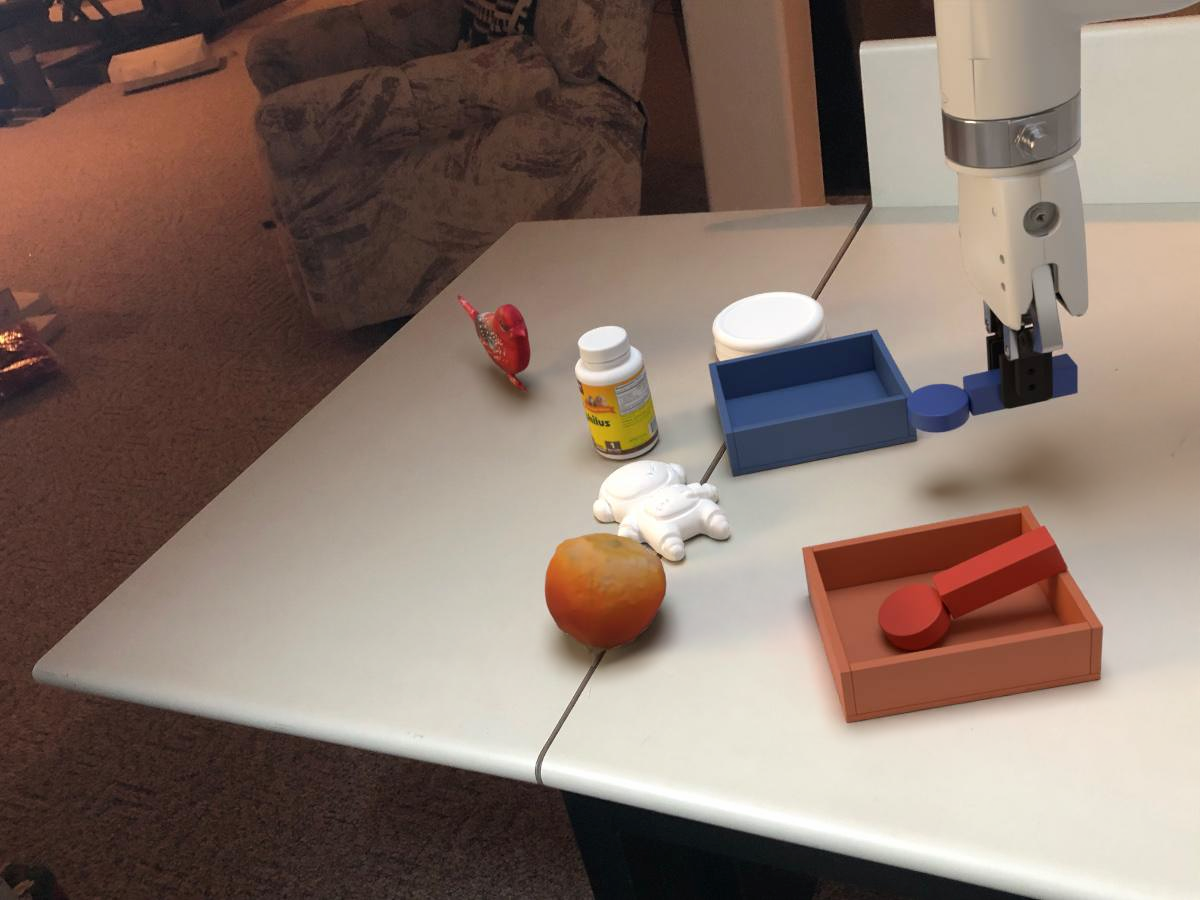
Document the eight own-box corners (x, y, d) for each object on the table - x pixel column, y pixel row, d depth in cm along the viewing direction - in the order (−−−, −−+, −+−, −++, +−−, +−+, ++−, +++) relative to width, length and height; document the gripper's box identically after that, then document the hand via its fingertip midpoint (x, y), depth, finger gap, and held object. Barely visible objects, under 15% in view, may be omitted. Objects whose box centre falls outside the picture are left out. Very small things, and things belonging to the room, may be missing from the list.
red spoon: (1049, 538, 64) (1036, 513, 63) (1076, 581, 61) (1063, 555, 60) (879, 615, 67) (865, 592, 66) (896, 660, 64) (881, 637, 63)
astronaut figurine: (642, 580, 76) (634, 547, 74) (581, 499, 85) (572, 468, 84) (752, 531, 78) (746, 498, 76) (679, 457, 87) (672, 426, 86)
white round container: (695, 361, 100) (688, 327, 98) (766, 314, 105) (761, 281, 103) (777, 388, 93) (772, 353, 91) (850, 336, 98) (846, 302, 96)
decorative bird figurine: (533, 417, 98) (504, 320, 92) (462, 353, 112) (433, 265, 106) (560, 404, 99) (533, 307, 93) (486, 343, 113) (459, 255, 107)
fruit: (506, 633, 72) (529, 520, 70) (596, 621, 77) (620, 516, 75) (581, 689, 66) (608, 568, 64) (672, 672, 71) (700, 560, 70)
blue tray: (880, 370, 92) (877, 328, 90) (917, 440, 82) (914, 396, 80) (715, 403, 93) (708, 363, 91) (733, 476, 84) (725, 433, 82)
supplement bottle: (584, 444, 92) (556, 339, 87) (640, 417, 94) (615, 313, 88) (614, 471, 88) (586, 362, 82) (672, 443, 89) (649, 334, 84)
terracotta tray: (1027, 554, 70) (1027, 504, 68) (1100, 678, 60) (1103, 626, 58) (808, 594, 71) (801, 547, 69) (846, 723, 62) (840, 673, 59)
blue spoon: (1061, 372, 75) (1060, 345, 73) (1084, 401, 71) (1085, 373, 70) (901, 407, 76) (898, 381, 75) (917, 438, 72) (914, 411, 71)
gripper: (1136, 155, 56) (1128, 444, 66) (1026, 77, 69) (1033, 327, 79) (991, 189, 57) (1004, 470, 67) (909, 106, 70) (930, 351, 80)
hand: (1020, 391), depth 73 cm, fingers closed on blue spoon, 1 cm apart
